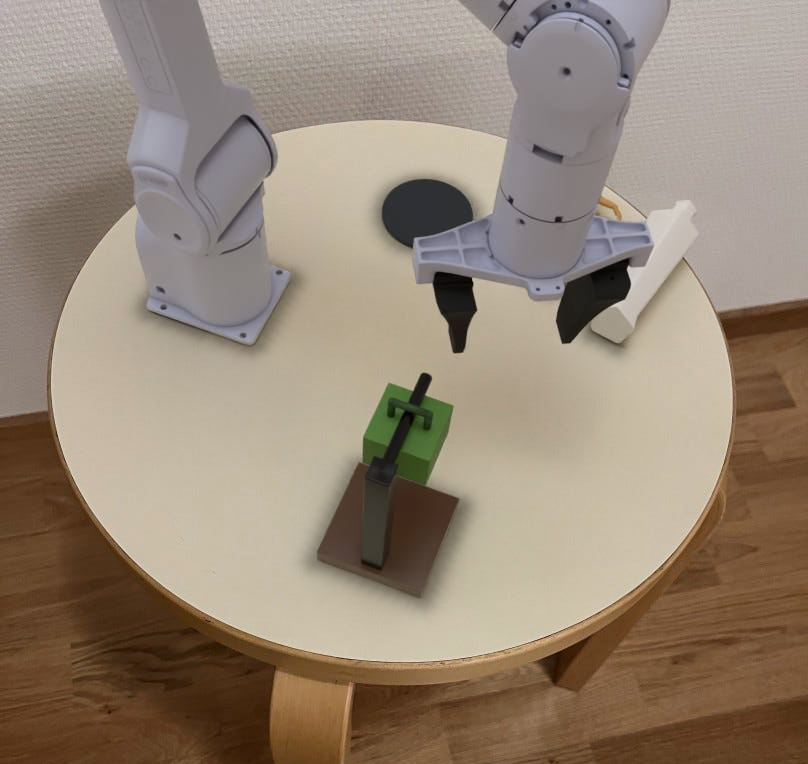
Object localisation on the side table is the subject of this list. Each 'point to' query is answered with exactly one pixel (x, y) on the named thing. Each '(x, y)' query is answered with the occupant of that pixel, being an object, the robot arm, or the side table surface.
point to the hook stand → (390, 518)
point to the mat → (424, 209)
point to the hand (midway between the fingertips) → (509, 336)
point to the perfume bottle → (650, 269)
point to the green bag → (422, 435)
